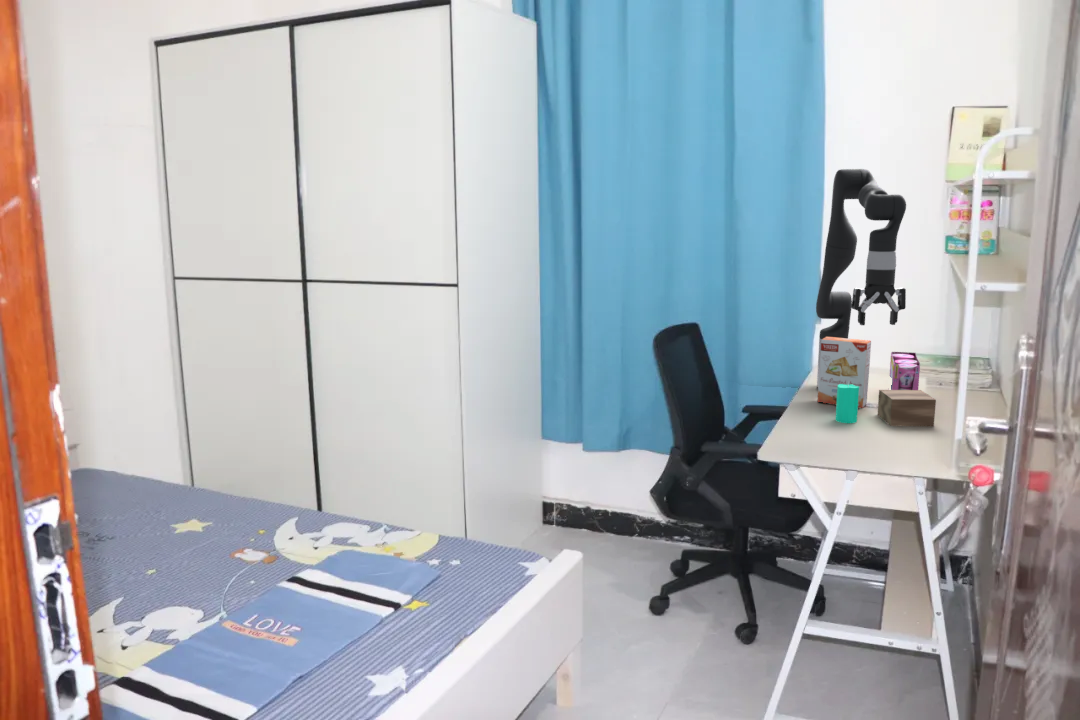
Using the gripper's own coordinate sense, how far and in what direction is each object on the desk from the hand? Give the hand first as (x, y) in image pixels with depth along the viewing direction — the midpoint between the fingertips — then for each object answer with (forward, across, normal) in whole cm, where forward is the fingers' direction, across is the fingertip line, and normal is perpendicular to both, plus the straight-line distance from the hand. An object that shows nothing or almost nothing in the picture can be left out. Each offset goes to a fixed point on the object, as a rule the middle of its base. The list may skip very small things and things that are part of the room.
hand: (877, 324), depth 234 cm
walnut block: (+29, -11, -3) cm, 31 cm away
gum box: (+29, -21, -29) cm, 47 cm away
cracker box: (+29, 0, -23) cm, 37 cm away
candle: (+29, +6, -3) cm, 30 cm away
